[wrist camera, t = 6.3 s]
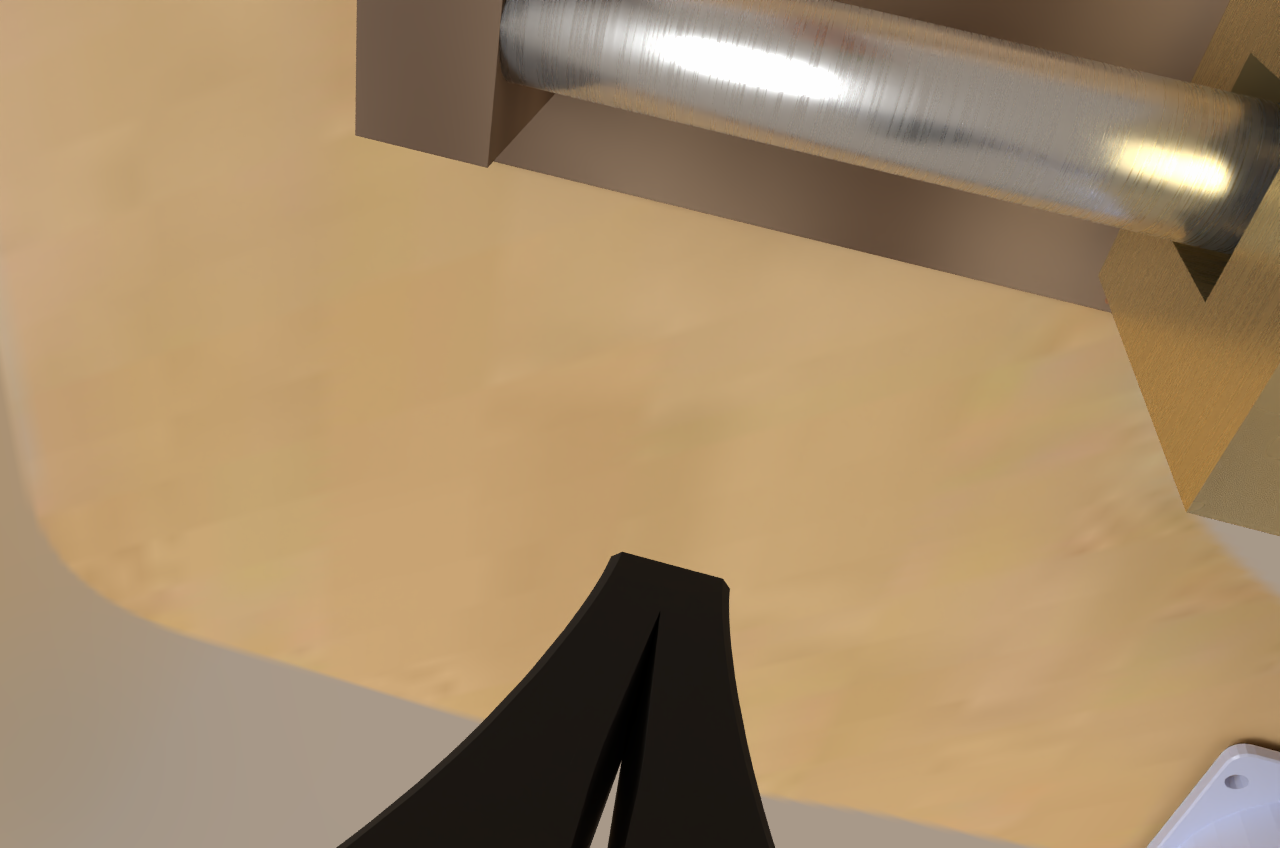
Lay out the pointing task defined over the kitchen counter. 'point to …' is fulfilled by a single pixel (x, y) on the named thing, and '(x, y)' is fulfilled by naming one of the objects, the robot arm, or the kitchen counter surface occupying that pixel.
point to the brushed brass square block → (1213, 318)
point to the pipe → (917, 104)
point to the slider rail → (758, 172)
